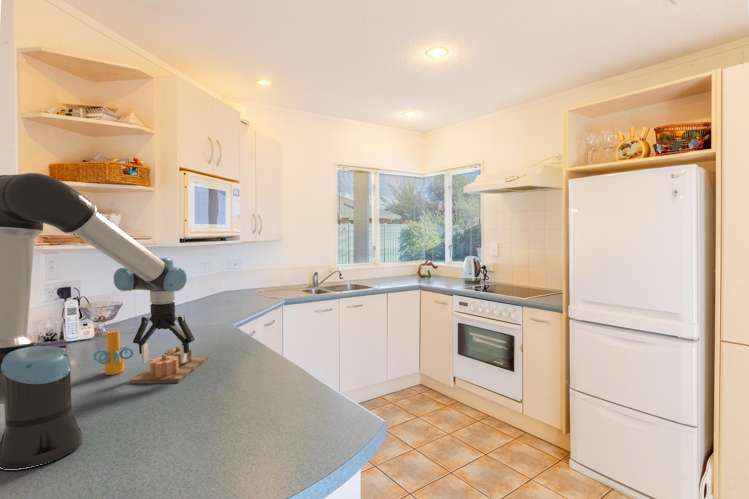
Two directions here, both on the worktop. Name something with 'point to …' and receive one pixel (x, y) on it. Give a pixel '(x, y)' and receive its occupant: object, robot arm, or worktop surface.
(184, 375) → the gear board
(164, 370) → the gear
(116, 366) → the orange post with rings
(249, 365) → the worktop surface
